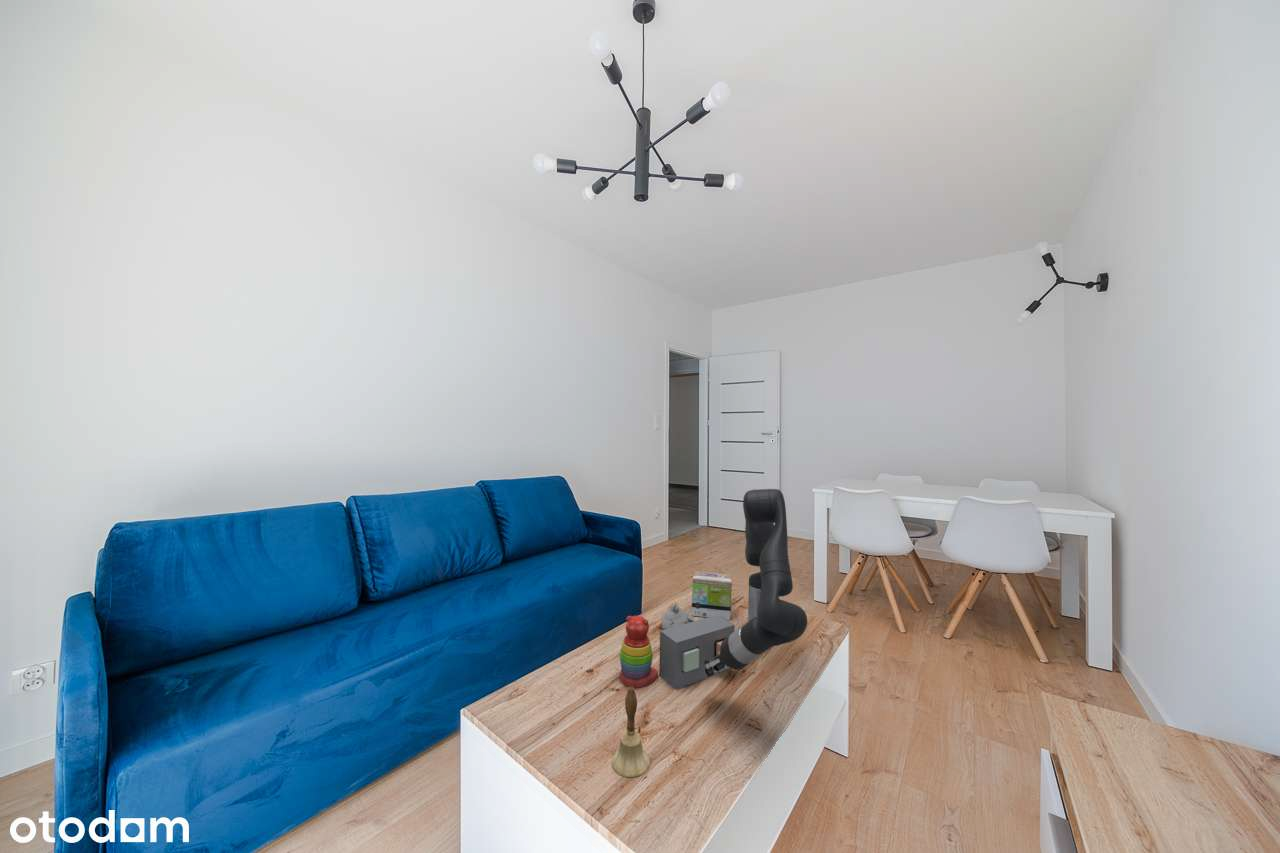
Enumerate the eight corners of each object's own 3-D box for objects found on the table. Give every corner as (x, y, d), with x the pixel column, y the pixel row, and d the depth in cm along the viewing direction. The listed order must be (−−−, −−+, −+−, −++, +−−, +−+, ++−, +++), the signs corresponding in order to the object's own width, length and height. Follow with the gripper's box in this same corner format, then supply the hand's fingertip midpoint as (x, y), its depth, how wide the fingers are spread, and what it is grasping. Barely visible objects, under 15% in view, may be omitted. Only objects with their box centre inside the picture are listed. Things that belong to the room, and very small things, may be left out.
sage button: (690, 660, 126) (690, 643, 126) (698, 667, 123) (699, 649, 123) (676, 665, 124) (676, 647, 124) (684, 672, 120) (685, 654, 120)
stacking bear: (660, 674, 127) (661, 613, 127) (646, 692, 118) (647, 627, 118) (627, 664, 132) (628, 606, 132) (611, 682, 122) (612, 619, 123)
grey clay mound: (685, 647, 148) (682, 620, 146) (656, 637, 155) (652, 611, 152) (700, 624, 158) (697, 599, 155) (672, 616, 164) (668, 592, 162)
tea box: (691, 617, 166) (692, 578, 166) (692, 606, 176) (693, 570, 176) (731, 620, 164) (731, 581, 164) (730, 609, 174) (730, 573, 174)
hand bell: (610, 777, 89) (612, 700, 89) (612, 747, 97) (614, 677, 98) (650, 778, 89) (652, 700, 89) (649, 748, 98) (650, 677, 98)
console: (715, 655, 138) (716, 614, 138) (733, 667, 131) (734, 624, 131) (659, 675, 126) (660, 630, 126) (675, 689, 120) (676, 642, 120)
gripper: (753, 625, 111) (720, 652, 121) (715, 637, 104) (682, 664, 114) (769, 655, 107) (733, 680, 117) (730, 670, 100) (695, 695, 110)
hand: (708, 672), depth 116 cm, fingers closed
